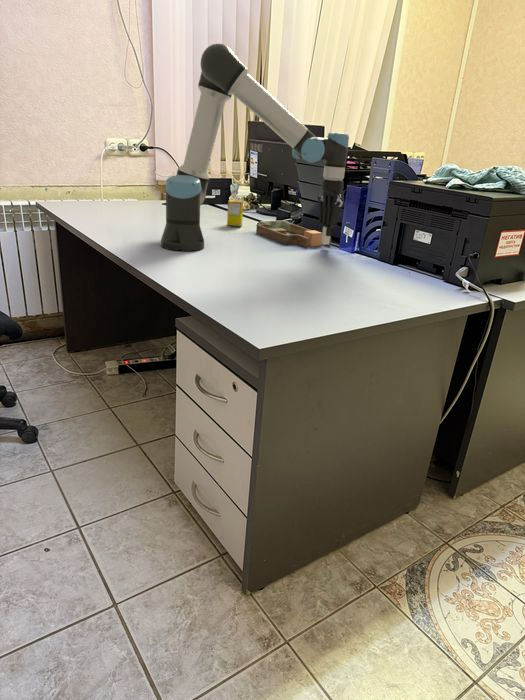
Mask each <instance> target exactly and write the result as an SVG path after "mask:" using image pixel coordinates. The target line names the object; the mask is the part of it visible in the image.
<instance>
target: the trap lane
mask: <svg viewBox="0 0 525 700" xmlns="http://www.w3.org/2000/svg"><path fill="white" fill-rule="evenodd" d="M305 231H312V229H309V228H306V227H303V226H300V225H297V224H294V223H291V222H288V221H286V220H261V221H259V224H256V232H255V233H256V234H258V235H260V236H262V237H265V238H268V239H270V240H272V241H275V242H278V243H280V244H283V245H298V246H301V247H304V248H308V247H309V245H308V241H309V238H307V237H304V232H305ZM287 232H289V233H292V234H287ZM331 242H332V237H331V236H330V241H329V244H326V245H325V246H328V247H331Z"/></svg>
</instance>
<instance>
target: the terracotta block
mask: <svg viewBox="0 0 525 700" xmlns="http://www.w3.org/2000/svg"><path fill="white" fill-rule="evenodd" d="M311 230H312V229H311ZM304 237H307V238H309V241H308V247H309V246H310V247H317V246H318V247H319V246H322V244H321V241H322V231H318V230H315V229H314V230H312V231H305V232H304Z"/></svg>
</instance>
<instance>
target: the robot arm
mask: <svg viewBox="0 0 525 700" xmlns="http://www.w3.org/2000/svg"><path fill="white" fill-rule="evenodd" d="M200 69H201V72H200V77H199V81H198V84H197V88H198V89H199V91H200V95H199V100H198V105H197V108H196V112H195V116H194V120H193V125H192V128H191V132H190V137H189V141H188V144H187V147H186V149H187V150H186V153H185V156H184V161H183V164H182V165H180V166H179V167H178V168H177V171H176V175H171V176H169V177H167V179H166V182H165V186H164V187H165V188H164V189H165V226H164V229H163V232H162V236H161V239H160V246H161V247H162V248H163V247H165V248H164V249H166V248H168V249H167V250H170V249H173V250H172V251H176V250H182V251H181V252H193V251H192V250H196V251H200V250H199V249H201V250H203V249H204V248H205V238H204V236H203V232H202V228H201V206H202V205H203V203H204V202H205V200H206V198H207V189H208V185H209V182H210V181H209V180H210V177H209V174H208V168H209V165H210V162H211V157H212V153H213V150H214V146H215V143H216V137H217V134H218V130H219V127H220V124H221V119H222V115H223V112H224V109H225V104H226V102H227V101H229V100H231V99H232V96H234V97H235V98H236V99H238V101H240V102H241V103H242V104H243V105H244V106H245V107H246V108H248V110H250V111H251V112H252V113H253V114H254V115H255V116H256V117H257V118H259V120H261V121H262V122H263V123H264V124H266V126H267V127H268V128H270V129H271V130H272V131H273V132H274V133H275V134H276V135H277V136H278V137H280V139H282V140H283V142H285V143H287V144H288V146H290V147H291V148H292V151H291V152H292V153H291V154H292V155H291V156H292V158H293V159H298V160H305V161H306V162H308V163H316V162H319V161H322V162H323V161H324V165H323V166H324V167H323V174H322V177H323V179H322V184H321V189H322V195H321V196H318V197H317V201H318V223H319V224H320V225H321V226H322V228H321V233H322V241H321V245H323V246H324V245H325V246H327V245H326V244H329V241H330V237H331V236H332V231H333V227H334V228H335V227H337V225H338V222H339V218H340V214H341V212H342V208H343V207H344V205H345V201H344V200H343V201H342V200H341V192H342V191H343V188H344V181H343V180H344V178H345V171H346V167H347V166H346V165H347V158H348V152H349V141H350V136H349V134H348V133H343V132H333V131H331V132H328V134H327V137H318V136H316V135H315V133H313V132H312V131H310V130H309V129H308V127H307V126H305V125H304V124H303V123H302V122H301V121H300V120H299V119H298V118H296V117H295V116H294V115H293V113H291V112H290V110H288V109H287V108H286V107H284V105H282V103H280V102H279V101H278V99H276V98H275V97H274V96H273V95H272V94H271V93H270V92H269V91H268V90H266V89H265V88H264V87H263V86H262V85H261V84H260V83H259V82H257V80H256V79H255V78H254V77H252V76H251V75H250V73H249V71H248V69H249V68H248V67H246V66H245V65H244V63H242V62H241V60H239V58H238V56H237V55H236V54H235V53H234V51H233V50H232V49H231V48H230V47H229V46H227V44H226V45H225V44H223V43H213V44H211V45H209V46H207V47H206V48H205V50H204V51H203V53H202V55H201V58H200Z"/></svg>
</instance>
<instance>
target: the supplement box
mask: <svg viewBox="0 0 525 700" xmlns="http://www.w3.org/2000/svg"><path fill="white" fill-rule="evenodd" d="M243 213H244V200H242V199H241V200H239V199H231V198H230V199H229V200H228V201H227V217H226V218H227V220H226V223H227V224H226V226H227V227H230V228H241V227H242V226H243V219H244V218H243V216H244V214H243Z"/></svg>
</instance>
